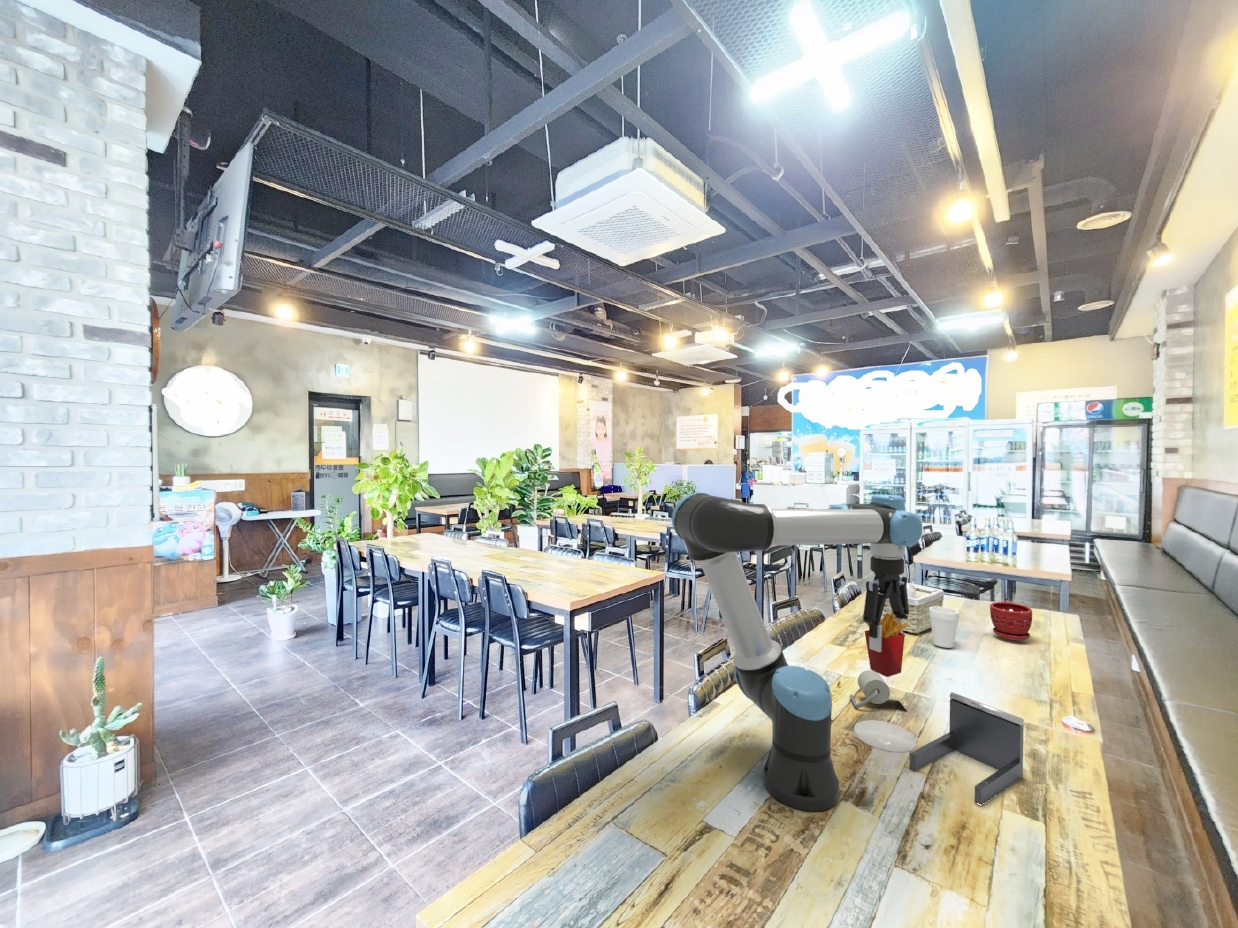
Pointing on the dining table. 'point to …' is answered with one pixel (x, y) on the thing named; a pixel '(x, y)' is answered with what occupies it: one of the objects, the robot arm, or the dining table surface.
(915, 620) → the storage basket
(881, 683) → the toilet paper roll
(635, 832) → the dining table surface
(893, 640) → the french fries
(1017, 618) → the plant pot
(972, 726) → the gray bracket
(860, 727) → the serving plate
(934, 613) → the foam cup
